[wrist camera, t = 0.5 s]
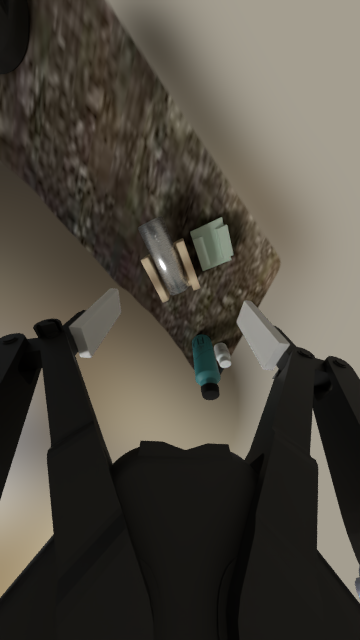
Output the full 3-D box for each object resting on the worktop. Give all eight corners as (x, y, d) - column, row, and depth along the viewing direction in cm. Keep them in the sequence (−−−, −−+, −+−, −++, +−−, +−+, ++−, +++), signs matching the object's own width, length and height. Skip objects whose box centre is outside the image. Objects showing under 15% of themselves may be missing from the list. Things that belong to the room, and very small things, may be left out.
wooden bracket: (148, 254, 36) (140, 260, 30) (182, 237, 34) (183, 240, 28) (165, 290, 41) (162, 302, 35) (197, 277, 39) (200, 287, 33)
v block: (189, 232, 33) (190, 232, 30) (220, 217, 32) (225, 216, 29) (201, 269, 38) (203, 274, 34) (229, 258, 36) (234, 261, 33)
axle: (141, 228, 30) (135, 228, 26) (163, 217, 29) (160, 215, 25) (170, 289, 37) (168, 297, 33) (189, 281, 36) (189, 289, 32)
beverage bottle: (203, 327, 47) (215, 383, 31) (214, 339, 50) (231, 397, 33) (187, 337, 50) (190, 395, 33) (199, 349, 52) (207, 407, 36)
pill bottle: (220, 353, 53) (226, 370, 47) (211, 348, 52) (215, 365, 46) (229, 345, 51) (235, 362, 45) (219, 340, 50) (224, 357, 44)
